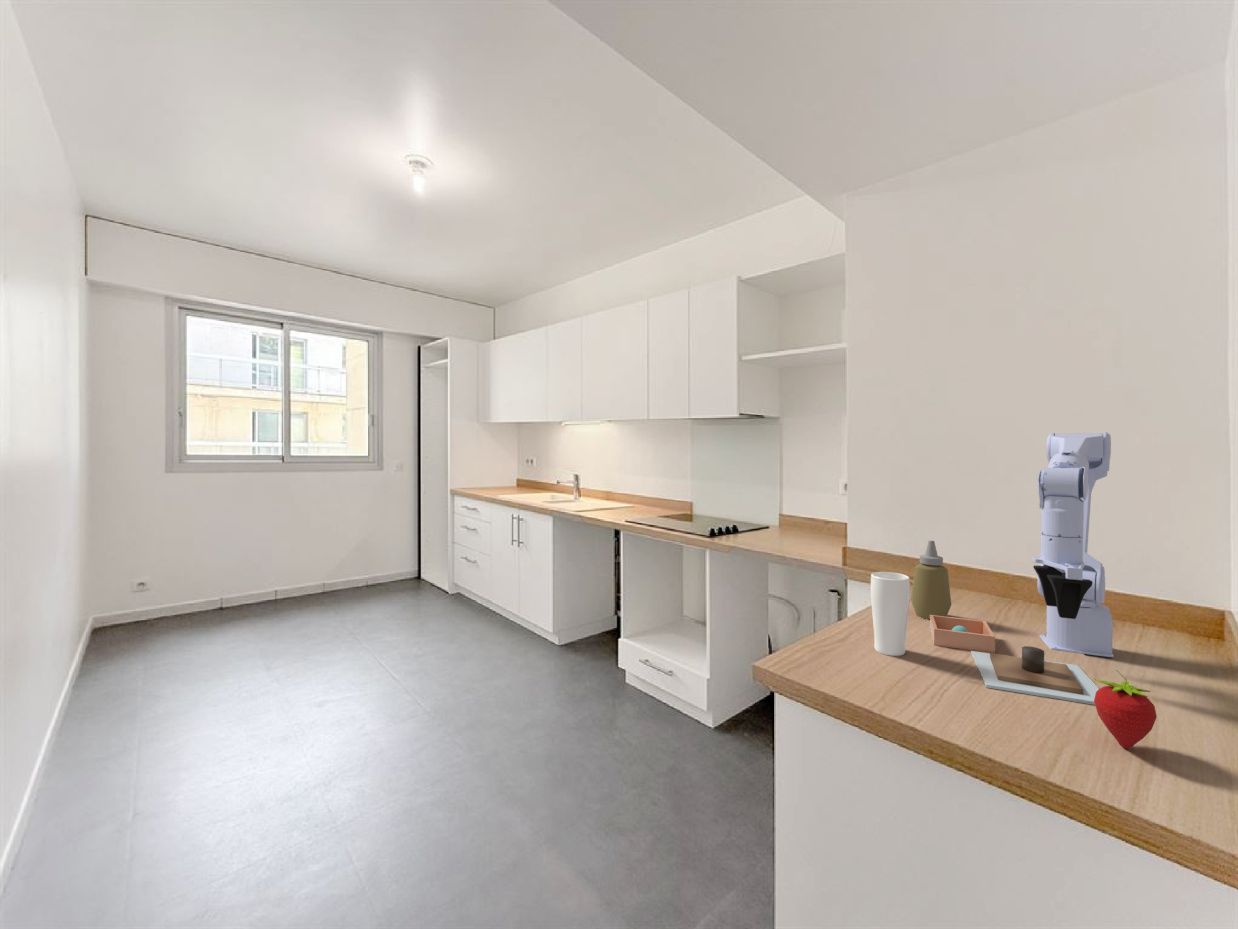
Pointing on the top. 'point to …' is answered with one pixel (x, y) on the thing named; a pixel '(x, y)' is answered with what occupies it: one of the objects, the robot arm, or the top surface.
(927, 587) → the squeeze bottle
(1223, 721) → the top surface
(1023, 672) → the lid
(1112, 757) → the top surface
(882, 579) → the white cup
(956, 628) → the ball
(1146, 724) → the strawberry
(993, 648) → the shallow cardboard tray
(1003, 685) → the mat
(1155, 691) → the top surface
